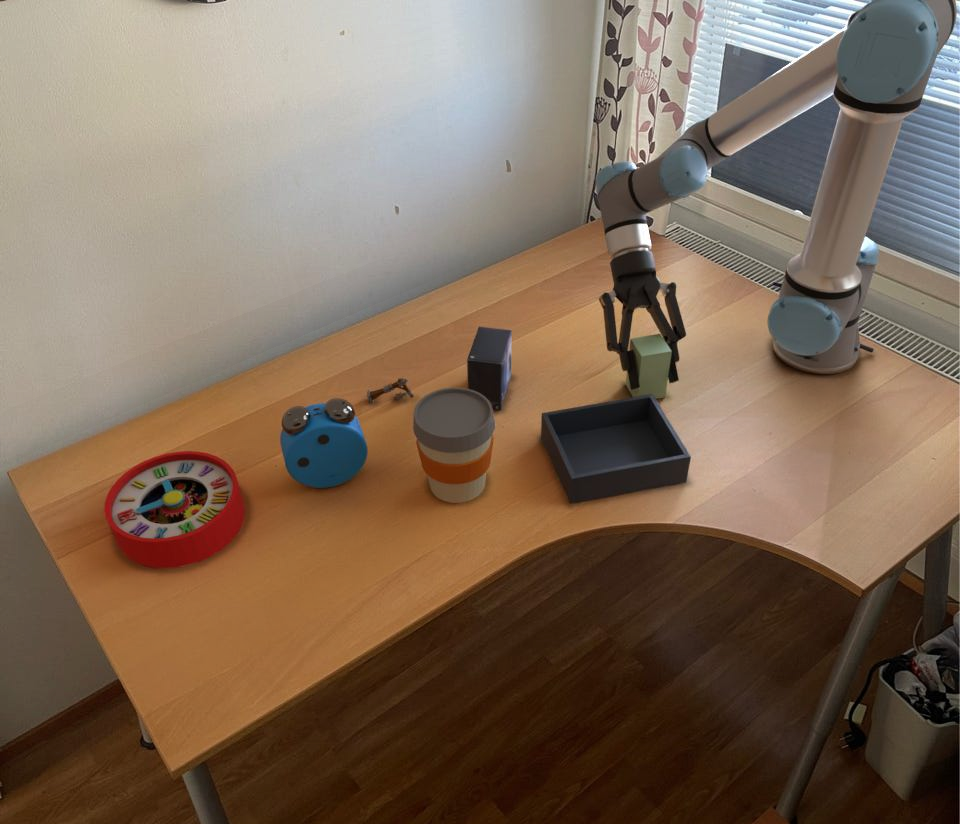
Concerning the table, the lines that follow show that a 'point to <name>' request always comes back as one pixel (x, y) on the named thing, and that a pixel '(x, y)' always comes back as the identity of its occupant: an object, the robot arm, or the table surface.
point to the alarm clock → (323, 443)
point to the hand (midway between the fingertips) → (654, 384)
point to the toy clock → (175, 509)
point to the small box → (490, 364)
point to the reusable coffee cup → (455, 441)
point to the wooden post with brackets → (388, 388)
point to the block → (650, 365)
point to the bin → (613, 448)
